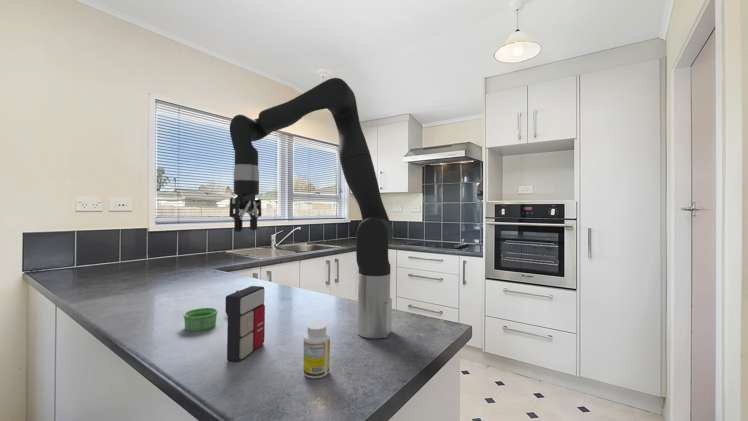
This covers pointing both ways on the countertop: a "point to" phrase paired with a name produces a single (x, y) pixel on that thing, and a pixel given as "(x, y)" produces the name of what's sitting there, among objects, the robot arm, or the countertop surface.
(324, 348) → the supplement bottle
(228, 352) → the calculator
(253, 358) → the countertop surface
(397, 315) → the countertop surface
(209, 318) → the ramekin
